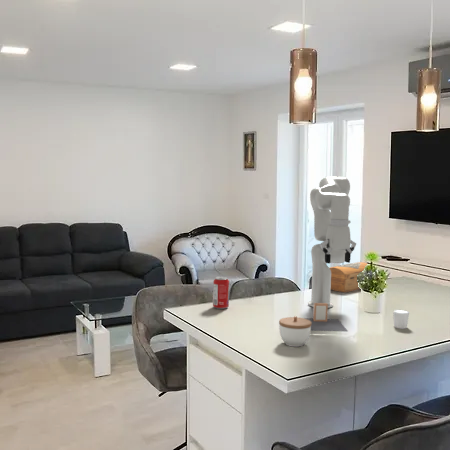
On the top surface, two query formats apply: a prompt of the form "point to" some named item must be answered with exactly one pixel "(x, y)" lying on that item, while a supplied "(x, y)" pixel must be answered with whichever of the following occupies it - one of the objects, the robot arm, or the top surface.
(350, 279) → the wooden box
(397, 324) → the white cup
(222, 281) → the soda can
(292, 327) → the lidded bowl
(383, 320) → the top surface
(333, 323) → the charcoal mat
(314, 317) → the picture frame
